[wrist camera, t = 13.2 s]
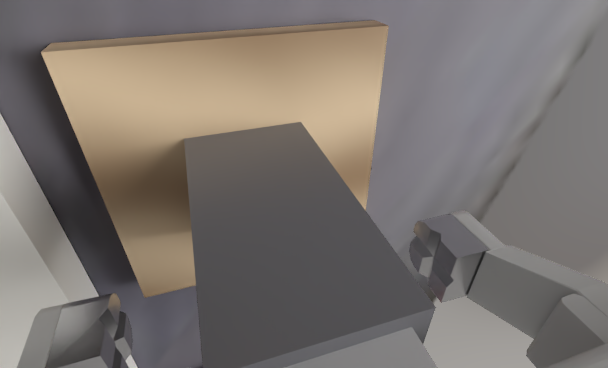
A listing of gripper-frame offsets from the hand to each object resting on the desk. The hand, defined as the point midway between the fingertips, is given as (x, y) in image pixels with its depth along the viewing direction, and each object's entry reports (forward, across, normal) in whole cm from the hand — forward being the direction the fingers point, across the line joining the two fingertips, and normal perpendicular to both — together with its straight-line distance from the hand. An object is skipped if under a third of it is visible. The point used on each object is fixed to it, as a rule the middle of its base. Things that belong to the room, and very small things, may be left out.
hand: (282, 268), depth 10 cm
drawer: (+5, 0, 0) cm, 5 cm away
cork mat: (+6, 0, 0) cm, 6 cm away
